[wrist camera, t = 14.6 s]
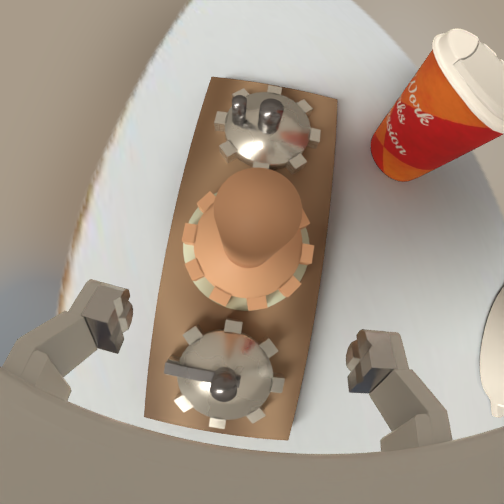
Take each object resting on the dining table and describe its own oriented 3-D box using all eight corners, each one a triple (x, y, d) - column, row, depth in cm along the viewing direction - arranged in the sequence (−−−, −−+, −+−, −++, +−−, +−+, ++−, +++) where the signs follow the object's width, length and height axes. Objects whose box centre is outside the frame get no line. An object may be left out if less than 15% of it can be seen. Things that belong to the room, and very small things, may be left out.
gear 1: (319, 104, 22) (332, 77, 19) (311, 188, 21) (325, 169, 18) (226, 87, 22) (226, 58, 18) (205, 169, 21) (199, 146, 17)
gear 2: (291, 327, 20) (302, 335, 17) (270, 427, 19) (277, 451, 16) (177, 308, 20) (165, 312, 16) (164, 410, 19) (152, 430, 15)
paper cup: (374, 105, 24) (445, 8, 11) (435, 148, 24) (526, 80, 10) (346, 163, 23) (436, 59, 10) (416, 210, 23) (535, 155, 9)
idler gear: (315, 199, 21) (371, 136, 11) (297, 316, 20) (352, 341, 10) (199, 178, 21) (174, 99, 11) (176, 296, 20) (123, 303, 10)
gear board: (332, 108, 24) (337, 99, 22) (285, 431, 21) (288, 440, 19) (212, 86, 24) (211, 76, 22) (149, 409, 20) (143, 417, 19)
